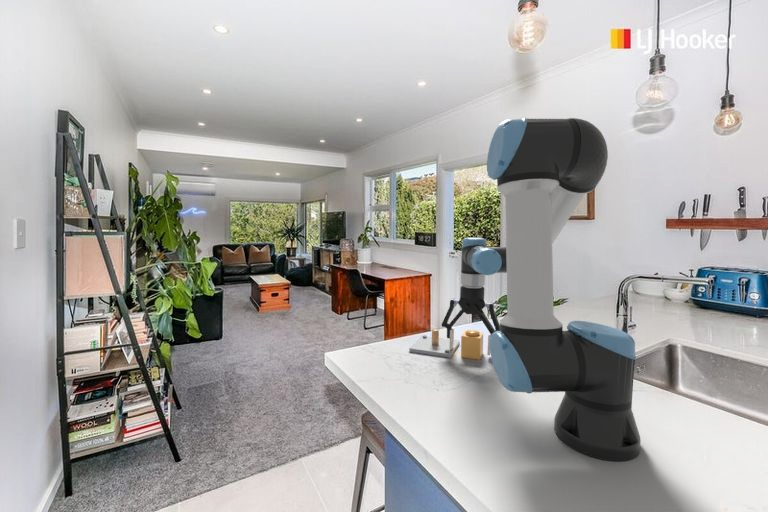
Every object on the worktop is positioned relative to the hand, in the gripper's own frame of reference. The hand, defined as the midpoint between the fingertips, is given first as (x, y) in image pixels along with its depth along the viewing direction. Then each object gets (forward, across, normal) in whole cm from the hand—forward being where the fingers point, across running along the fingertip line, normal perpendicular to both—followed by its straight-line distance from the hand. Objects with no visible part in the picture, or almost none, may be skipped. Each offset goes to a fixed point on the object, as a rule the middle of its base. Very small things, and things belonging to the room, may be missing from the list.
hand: (469, 350), depth 118 cm
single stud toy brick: (+1, -1, 0) cm, 1 cm away
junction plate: (+2, +12, -2) cm, 12 cm away
